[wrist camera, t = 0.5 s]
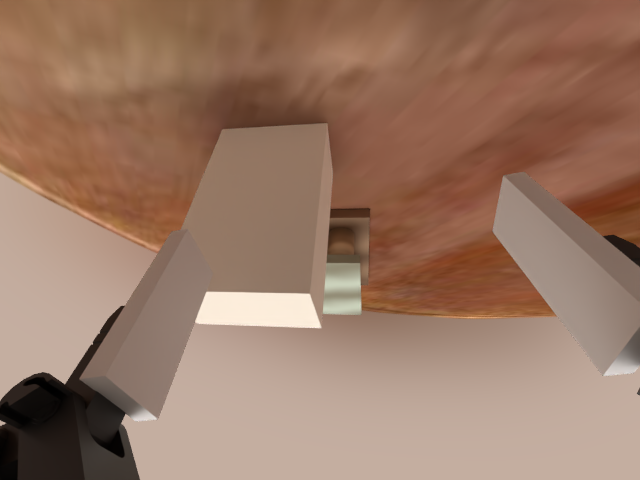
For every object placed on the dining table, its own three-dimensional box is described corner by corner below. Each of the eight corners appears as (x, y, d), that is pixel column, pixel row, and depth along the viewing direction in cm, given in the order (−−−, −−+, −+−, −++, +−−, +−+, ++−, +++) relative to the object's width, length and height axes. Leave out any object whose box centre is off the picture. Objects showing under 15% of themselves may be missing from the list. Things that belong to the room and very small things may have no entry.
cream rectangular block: (222, 129, 26) (155, 290, 18) (327, 122, 25) (309, 293, 16) (243, 176, 30) (198, 323, 22) (332, 173, 29) (321, 328, 21)
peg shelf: (228, 211, 35) (214, 257, 32) (369, 208, 33) (370, 258, 30) (265, 276, 48) (258, 314, 45) (368, 277, 46) (368, 317, 43)
